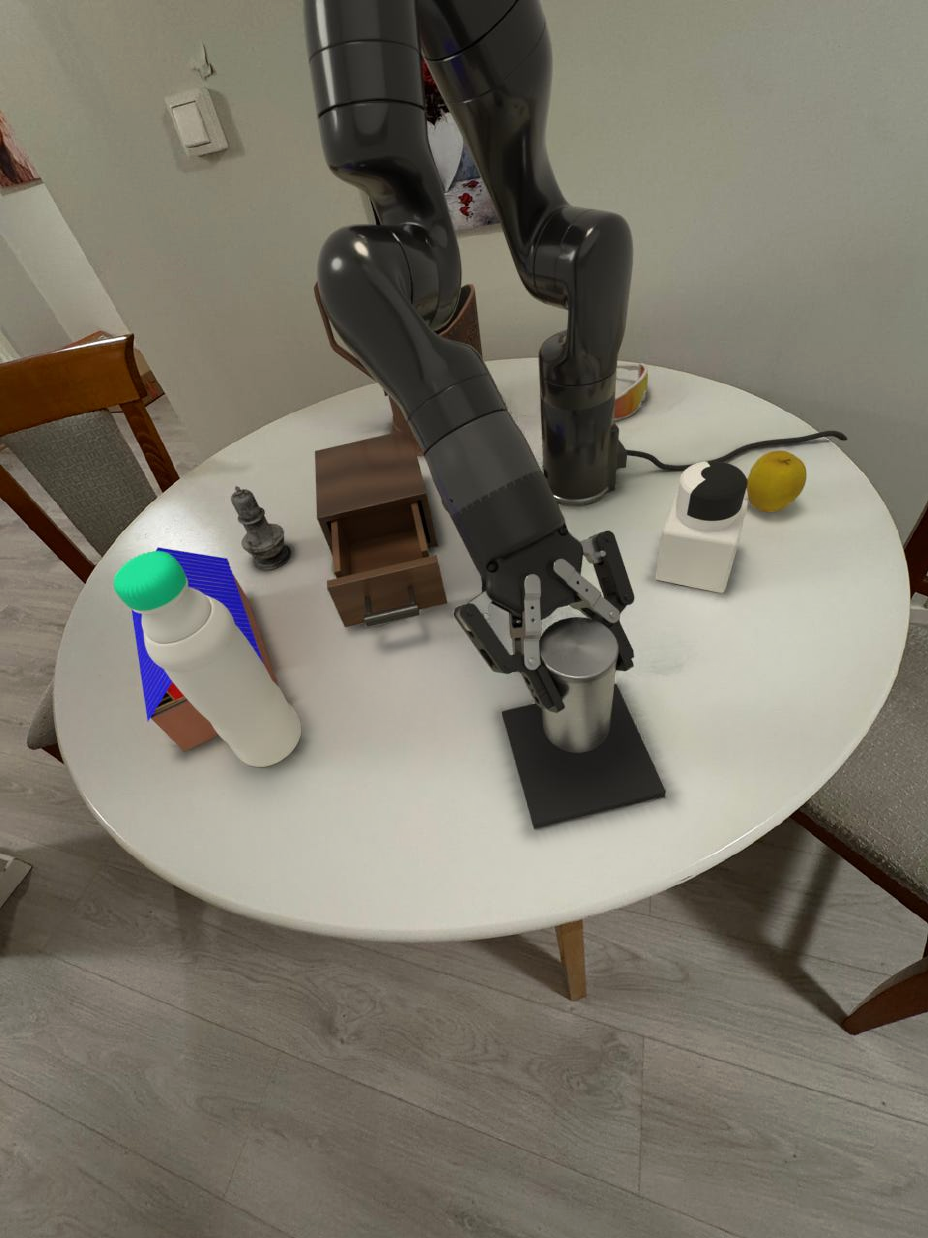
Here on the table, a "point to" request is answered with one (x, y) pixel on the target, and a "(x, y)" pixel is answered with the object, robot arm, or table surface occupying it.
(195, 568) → the house
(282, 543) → the stone chess piece
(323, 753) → the table surface
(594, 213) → the robot arm
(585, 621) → the metal canister
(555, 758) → the coaster mat
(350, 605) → the drawer
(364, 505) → the cabinet
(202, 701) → the water bottle
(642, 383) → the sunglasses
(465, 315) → the brown embossed pitcher
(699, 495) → the container
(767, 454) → the apple
